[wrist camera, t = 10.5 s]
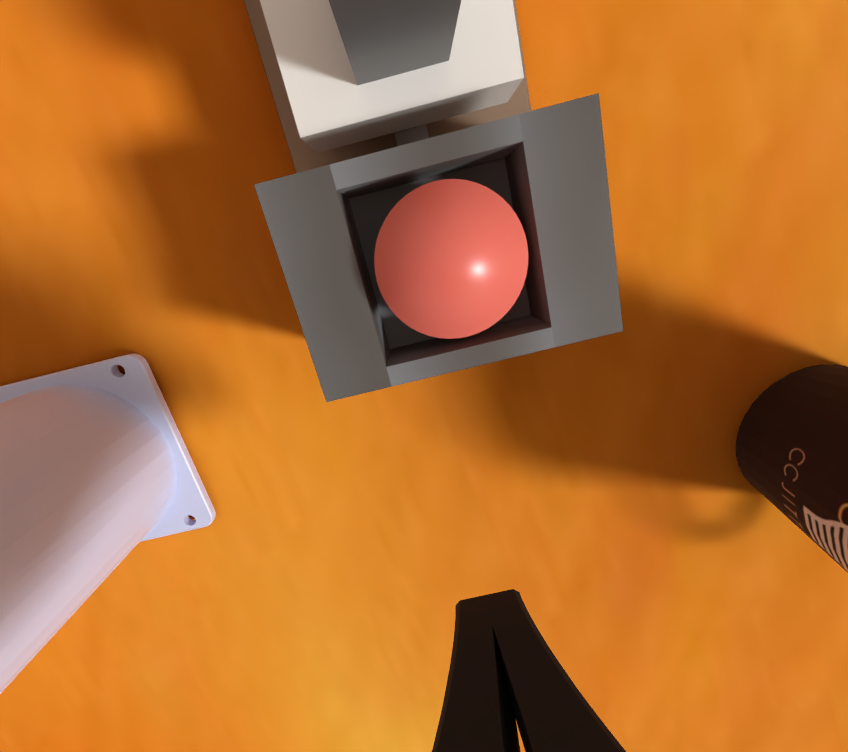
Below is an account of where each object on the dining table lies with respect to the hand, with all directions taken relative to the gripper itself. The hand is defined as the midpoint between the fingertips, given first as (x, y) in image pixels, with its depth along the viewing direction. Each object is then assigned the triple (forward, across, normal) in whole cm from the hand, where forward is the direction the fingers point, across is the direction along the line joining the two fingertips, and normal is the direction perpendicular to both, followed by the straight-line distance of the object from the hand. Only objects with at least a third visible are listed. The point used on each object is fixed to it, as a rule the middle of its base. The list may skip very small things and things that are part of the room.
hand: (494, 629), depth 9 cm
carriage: (+7, -1, -14) cm, 16 cm away
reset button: (+4, -1, -8) cm, 9 cm away
